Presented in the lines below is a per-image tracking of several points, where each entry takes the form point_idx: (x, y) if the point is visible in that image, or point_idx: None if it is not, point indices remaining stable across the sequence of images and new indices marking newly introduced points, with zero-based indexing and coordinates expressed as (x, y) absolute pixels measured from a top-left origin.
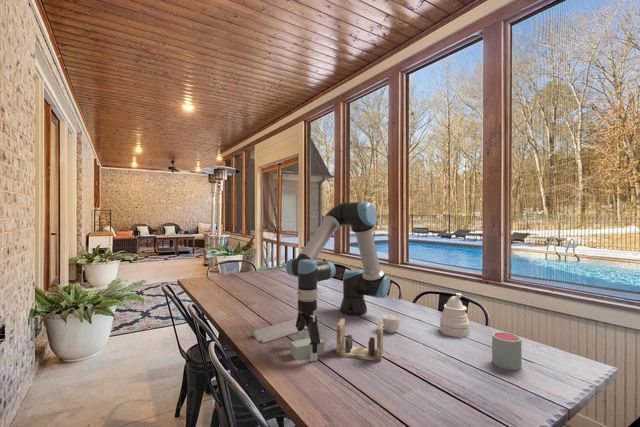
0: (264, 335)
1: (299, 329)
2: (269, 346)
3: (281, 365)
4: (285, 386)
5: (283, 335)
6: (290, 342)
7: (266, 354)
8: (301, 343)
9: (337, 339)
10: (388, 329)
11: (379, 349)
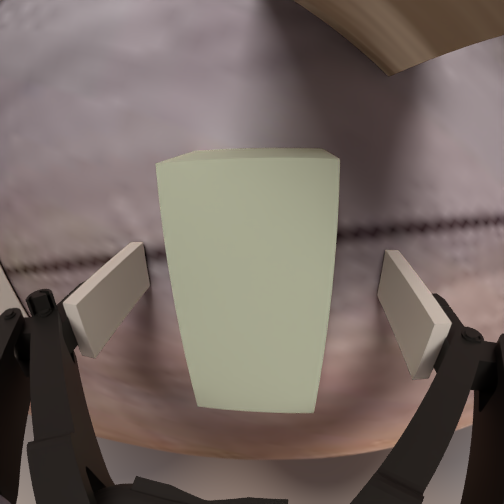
0: None
1: (70, 350)
2: (108, 384)
3: (326, 411)
4: (462, 414)
5: (10, 294)
6: (201, 402)
7: (188, 420)
8: (265, 368)
9: (458, 47)
10: None
11: None
